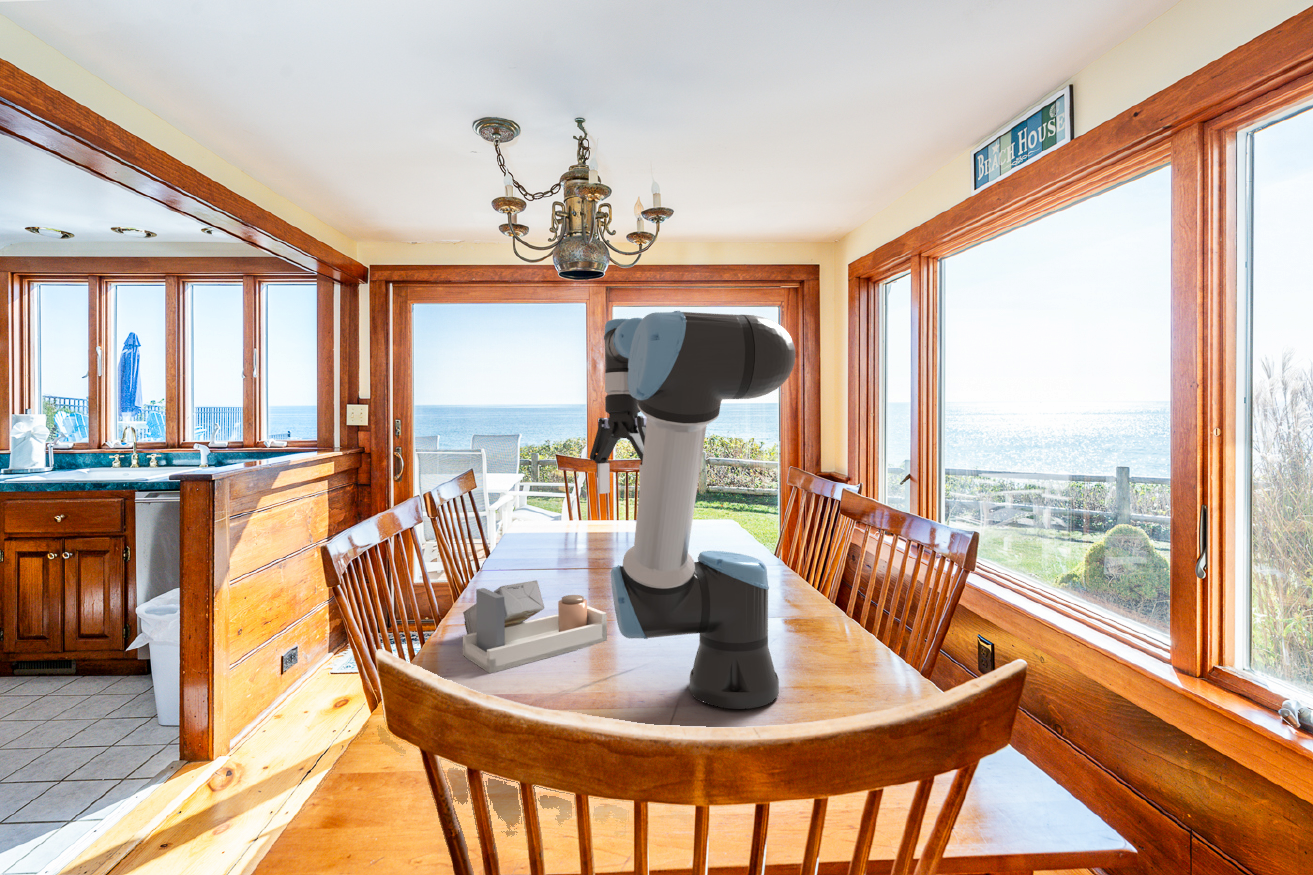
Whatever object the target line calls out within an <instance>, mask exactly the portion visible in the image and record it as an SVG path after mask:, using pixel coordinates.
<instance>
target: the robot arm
mask: <svg viewBox="0 0 1313 875" xmlns="http://www.w3.org/2000/svg"><path fill="white" fill-rule="evenodd" d="M603 341H604V370H605V371H604V392H605V394H607V395H605V398H604V399H605V404H604V405H605V407H604V408H605V413H608V414H609V415H608V417H600V418H598V425H597V431H596V435H595V438H594V441H593V445H592V448H591V451H590V455H589V460H590V461H594V462H595V463H596V478H597V494H598V495H599V494H600V495H601V494H609V493H610V494H611V492H610V490H611V488H610V486H611V485H610V484H611V483H610V477H611V476H610V475H611V474H610V462H609V458H610V456H611V454H612V452H613V451H614V449H615V446H616V445H617V443H618V442H619V441H620V440H621V439H626V440H628V441H629V442H630V444H631V446H632V447H633V449H634V451H635V453H636V454H637V456H638V458H639V459H640V461H641V462H640V463H639V467H638V468H639V469H638V470H639V474H638V475H639V491H638V492H639V493H638V501H637V502H638V504H637V514H636V521H635V533H634V542H633V544H634V545H632V547H630V548H629V549H628V550H627V551H626V552H625V553H624V556H623V559H622V565H619V564H617V565H616V566H614V567H612V568H611V572H610V582H611V592H612V599H613V601H612V602H613V606H614V611H615V612H614V613H615V617H616V622H617V626H618V630H619V632H620V634H621V635H622V636H623V637H624V638H627V639H643V640H648V639H652V638H663V637H664V638H665V637H672V636H673V637H674V636H683V635H684V636H685V635H694V634H695V635H696V634H699V642H698V643H699V644H698V647H697V651H696V654H695V657H694V658H695V659H694V661H693V663H694V664H693V666H692V669H691V670H690V674H689V692H690V694H691V695H692V696H693V695H694V696H695V697H696V698H697V699H696V698H695V697H694V696H693V697H694V698H695V699H696V700H698V699H699V700H698V701H700V700H701V701H700V702H702V701H704V702H706V703H709V704H711V705H710V706H713V705H715V706H714V707H717V706H718V707H717V708H723V707H724V709H736V710H741V709H742V710H744V709H745V708H746V709H755V708H759V707H763V706H765V705H766V706H767V705H768V703H769V704H771V703H772V702H774V701H775V700H776V699H777V698H778V697H779V695H780V684H779V683H780V681H779V680H780V679H779V677H778V674H777V672H776V670H775V667H774V663H773V660H772V656H771V652H770V649H769V589H770V586H769V581H768V570H767V566H766V564H765V563H764V562H763V561H762V560H760V559H759V558H756V557H754V556H750V555H746V554H742V553H737V552H732V551H731V552H730V551H722V550H707V551H706V550H705V551H704V550H703V551H701V552H700V553H699V554H698V557H697V561H694V559H693V557H692V555H691V554H690V553H688V552H689V547H690V540H691V533H692V528H693V527H692V526H693V520H694V513H695V506H696V499H697V492H698V485H699V480H700V479H699V478H700V474H701V473H700V472H701V471H700V470H701V467H702V465H701V464H702V459H703V452H704V445H705V438H706V431H707V425H709V424H711V423H712V422H714V421H715V420H716V419H717V418H719V415H720V411H721V404H722V401H723V400H749V399H757V398H760V397H762V396H765V395H768V394H770V393H772V392H773V391H776V390H777V389H779V388H780V387H781V386H782V385H783V384H784V383H785V382H786V381H787V380H788V379H789V377H790V375H791V373H792V372H793V370H794V366H795V363H796V348H795V343H794V340H793V339H792V336H791V335H790V333H789V332H788V330H786V329H785V328H784V327H783V326H782V325H780V324H778V323H777V322H775V321H774V320H770V319H768V318H765V317H762V316H757V315H754V314H732V313H731V314H727V313H707V312H706V313H705V312H689V311H681V310H674V311H669V312H668V311H665V312H664V311H663V312H661V311H660V312H656V311H655V312H651V313H648V314H647V315H645V316H644V317H643V318H642V317H631V318H613V319H610V320H607V321H606V322H605V325H604V335H603ZM640 412H641V413H642V414H643V415H639V413H640ZM778 694H779V695H778ZM777 696H778V697H777ZM776 697H777V698H776ZM775 698H776V699H775ZM774 699H775V700H774ZM773 700H774V701H773ZM704 702H703V703H704ZM770 702H771V703H770ZM706 703H705V704H706ZM709 704H708V705H709Z"/></svg>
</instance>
